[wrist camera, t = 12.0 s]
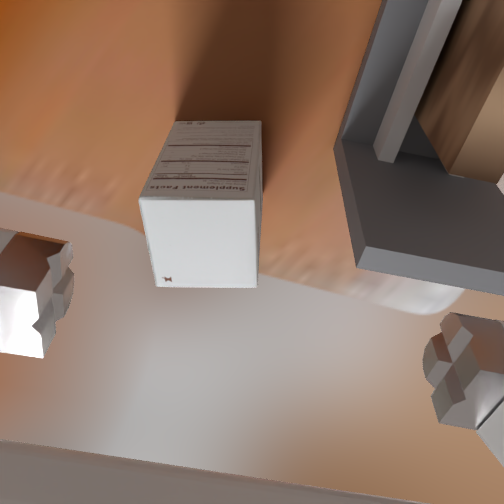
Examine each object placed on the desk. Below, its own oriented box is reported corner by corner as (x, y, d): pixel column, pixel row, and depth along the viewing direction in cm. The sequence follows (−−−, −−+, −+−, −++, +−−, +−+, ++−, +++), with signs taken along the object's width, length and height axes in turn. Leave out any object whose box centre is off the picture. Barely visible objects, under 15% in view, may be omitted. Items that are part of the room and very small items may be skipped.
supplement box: (264, 196, 42) (258, 292, 32) (182, 196, 43) (152, 290, 33) (264, 117, 38) (257, 200, 28) (172, 117, 38) (134, 198, 28)
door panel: (449, 117, 36) (496, 183, 28) (411, 109, 35) (448, 173, 28) (539, -71, 28) (638, -55, 20) (491, -83, 28) (573, -71, 20)
